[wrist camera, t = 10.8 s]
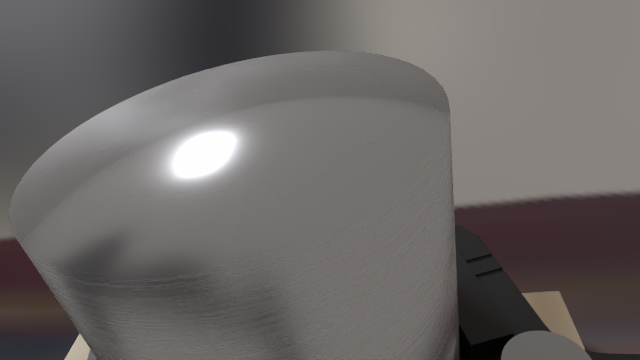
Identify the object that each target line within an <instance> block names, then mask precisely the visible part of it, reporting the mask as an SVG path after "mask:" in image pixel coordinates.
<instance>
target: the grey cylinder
mask: <svg viewBox="0 0 640 360" xmlns="http://www.w3.org/2000/svg"><path fill="white" fill-rule="evenodd" d="M451 153H452V152H451V128H450V109H449V102H448V97H447V95H446V93H445V91H444V89H443V87H442V86H441V85H440V84H439V82H438V81H437V80H436V79H435V78H434V77H433V76H431V75H430V74H428V73H427V72H426V71H424V70H423V69H421V68H419V67H417V66H415V65H413V64H410V63H408V62H405V61H402V60H399V59H396V58H392V57H387V56H383V55H378V54H371V53H364V52H351V51H312V52H298V53H288V54H280V55H272V56H266V57H260V58H255V59H249V60H244V61H240V62H235V63H230V64H226V65H223V66H219V67H215V68H211V69H207V70H204V71H201V72H197V73H194V74H191V75H188V76H185V77H182V78H179V79H176V80H173V81H170V82H167V83H165V84H162V85H160V86H157V87H154V88H152V89H150V90H147V91H145V92H142V93H140V94H138V95H135V96H133V97H131V98H129V99H127V100H125V101H123V102H121V103H119V104H117V105H115V106H113V107H111V108H109V109H107V110H106V111H103V112H102V113H100V114H98V115H96V116H95V117H93V118H91V119H90V120H88V121H86V122H85V123H83V124H81V125H80V126H78V127H77V128H76V129H74V130H73V131H71V132H70V133H68V134H67V135H65V136H64V137H63V138H62V139H60V140H59V141H58V142H57V143H56V144H54V145H53V146H52V147H50V148H49V149H48V150H47V151H46V152H45V153H44V154H43V155H42V156H41V157H40V158H39V159H38V160H37V161H36V162H35V163H34V164H33V166H31V168H30V169H29V170H28V172H26V174H25V175H24V176H23V178H22V180H21V181H20V183H19V185H18V186H17V188H16V190H15V192H14V195H13V198H12V200H11V203H10V212H9V220H10V224H11V229H12V232H13V234H14V235H15V237H16V238H17V240H18V241H19V243H20V245H21V246H22V248H23V249H24V251H25V252H26V254H27V255H28V256H29V258H30V259H31V261H32V262H33V264H34V265H35V267H36V268H37V270H38V271H39V273H40V274H41V276H42V277H43V279H44V280H45V282H46V283H47V285H48V286H49V288H50V289H51V291H52V292H53V294H54V295H55V297H56V298H57V300H58V301H59V303H60V304H61V306H62V307H63V309H64V310H65V312H66V313H67V315H68V316H69V318H70V319H71V321H72V322H73V324H74V325H75V327H76V328H77V330H78V331H79V333H80V334H81V336H82V337H83V339H84V340H85V342H86V343H87V345H88V346H89V348H90V349H91V351H92V352H93V354H94V355H95V357H96V358H97V360H460V344H459V320H458V295H457V271H456V247H455V223H454V199H453V175H452V154H451Z"/></svg>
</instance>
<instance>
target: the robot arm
mask: <svg viewBox="0 0 640 360" xmlns="http://www.w3.org/2000/svg"><path fill="white" fill-rule="evenodd" d="M455 247H456V271H457V295H458V320H459V344H460V360H640V354H606V353H596V352H591V351H587V350H584V349H583V348H582V347H580V346H579V345H578V344H577V343H575V342H574V341H572V340H571V339H569V338H566V337H564V336H562V335H559V334H557V333H553V332H551V331H550V330H549V328H548V327H547V326H546V325H545V324H544V322H543V321H542V320H541V319H540V317H539V316H538V315H537V313H536V312H535V311H534V309H533V308H532V307H531V305H530V304H529V303H528V301H527V300H526V299H525V297H524V296H523V295H522V293H521V292H520V291H519V289H518V288H517V287H516V285H515V284H514V283H513V281H512V280H511V279H510V277H509V276H508V275H507V273H506V272H505V271H503V270H502V267H501V265H500V264H499V263H498V261H497V260H496V259H495V257H492V253H491V252H490V251H489V249H488V248H487V247H486V246H485V244H484V243H483V242H482V240H481V239H480V238H479V237H478V236H477V235H475V234H474V233H472V232H470V231H469V230H467V229H465V228H464V227H462V226H460V225H456V226H455ZM87 360H97V358H96V357H95V355H94V354H93V352H92V351H91V349H90V351H89V355H88V359H87Z"/></svg>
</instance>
